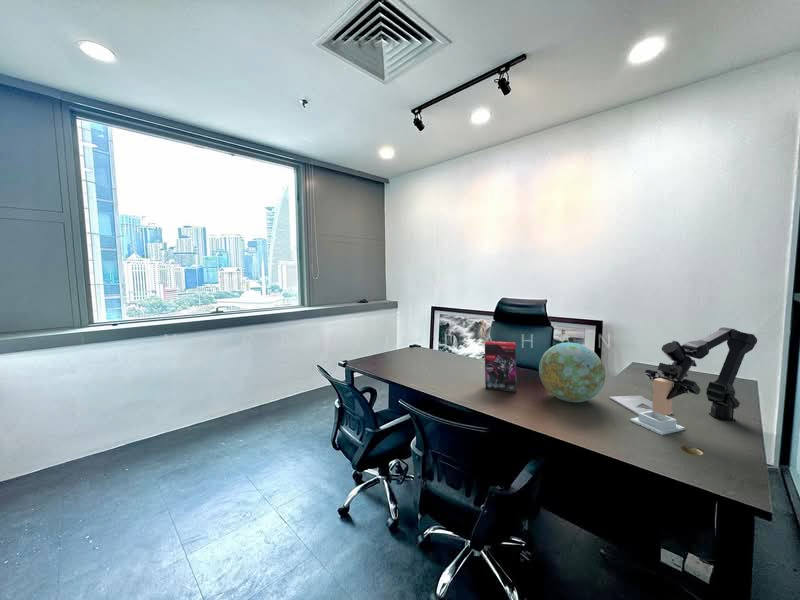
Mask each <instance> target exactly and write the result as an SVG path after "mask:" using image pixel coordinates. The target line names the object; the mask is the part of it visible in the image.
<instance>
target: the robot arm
mask: <svg viewBox="0 0 800 600" xmlns="http://www.w3.org/2000/svg"><path fill="white" fill-rule="evenodd" d="M725 342H726V344H727V347H728V352H727V355H726V356H725V360H724V362H723V364H722V367H721V370H720V372H719V375H718V377H717V379H716V380H715V381H709V382H708V385H707V388H706V389H705V393H706V397H707V400H708V402H712V403H711V405H710V412H708V415H710V416H712V417H713V418H715V419H717V420H719V421H731V422H732V421H733V422H736V421H737V419H736V418H735V417H734V415H735V414H734V411H735V409H738V408H739V407H740V405H741V403H740V401H739V400H738V399H737V398H736V397H735V396H736V395H735V394H736V390H735V387H734V383H735V380H736V378H737V375H738V374H739V371H740V367H741V366H742V362H743V361H744V357H745V356H746V354H747V353H749V352H751V351H752V350H753V349H754V348H755V346H756V344H758V343H757V342H758V338H757V337H756V336H755V334H753V333H747V332H743V331H739V330H737V329H735V328H730V327H720V328H719V329H718V330H716V331H714V332H712V333H710V334H708V335H707V336H705V337H703V338H701V339H698V340H691V341H688V342H685V343H683V344H682V345H681V343H680V342H679V341H678V340H672V342H667V343H665V344H663V345H662V346H661V351H662V352H663V353H664V355H666V357H667V358H668V359H669V360H670V361H672V363H671V364H670V363H669V364H668V363H663V362H659V364H658V366H657V370H654V369H650V368H647V369H645V371H644V372H643V374H644V375H645V376H646V378H647V379H648V380H649V381H651V382H653V380H654V379H657V378H662V379H666V380H669V381H673V388H672V390H671V391H670V393H669V394H668V396H667V398H666V399H667V400H669V399H671V398H672V399H673V398H675V397H678V396H680V395H683V394H689V393H691V394H694V395H700V393H701V387H700V386H699V385H698V384H697V383H696V381H694V380H690V379H686V378H688V372H690V369H691V367H694V368H695V367H696V368H697V363H696V361H695V360H694V359H698V360H702V359H703V358H705V357H706V356H708V355H709V353H710V350H711V349H713V348H715V347H717V346H719V345H722V344H723V343H725ZM693 358H694V359H693ZM658 371H660V372H661V374H662V375H661V374H659V372H658Z"/></svg>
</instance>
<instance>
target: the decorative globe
mask: <svg viewBox="0 0 800 600" xmlns="http://www.w3.org/2000/svg"><path fill="white" fill-rule="evenodd" d="M538 364H539V365H538V373H539V374H538V375H539V378H540V381H541V383H542V385H543V386H544V388H545V389H546V390H547V391H548V393H550V394H551V395H553V396H554V397H556V398H557V399H559V400H562V401H565V402H568V403H581V402H586V401H590V400H591V399H593V398H595V397H596V396H597V395H598V394H599V393H600V392H601V390H602V389H603V387H604V385H605V382H606V369H605V367H604V363H603V362H602V360H601V358H600V357H599V356H598V354H597V353H596V352H595V351H593V350H592V349H591V348H590V347H588V346H585V345H583V344H581V343H576V342H570V341H569V342H561V343H557V344H555V345H553V346H551V347H550V348H548V349H547V350H546V351H545V352H544V353H543V355H542V357H541V358H540V361H539V363H538Z"/></svg>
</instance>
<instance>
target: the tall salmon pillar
mask: <svg viewBox="0 0 800 600" xmlns="http://www.w3.org/2000/svg"><path fill="white" fill-rule="evenodd" d="M652 383H653V385H652V386H653V387H652V402H653V404H652V411H654V412H656V413H659V414H661V415H664V416H670V415H671V414H672V412H673V398H671V399H669V400H667V399H666V398H667V396H668V394H669V393H670V391H671V390H672V388H673V386H674V384H673V381H669V380H666V379H662V378H657V379H654V380H653V381H652ZM672 415H673V414H672Z"/></svg>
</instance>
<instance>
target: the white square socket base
mask: <svg viewBox="0 0 800 600" xmlns="http://www.w3.org/2000/svg"><path fill="white" fill-rule="evenodd" d="M629 420H630V421H629V422H632V423H634V424H637V425H639V426H640V425H641V427H643V428H645V429H648V430H649V429H650V430H649V431H652V432H654V433H656V434H658V435H660V436H664V435H668V434H672V433H676V432H681V431H684V430H686V429H685V426H682V425H680V424H677V419H676V418H674V417H671V416H670V415H667V416H664V415H661V414H659V413H656V412H654V411H647V412H642V413H639V414H638V415H637V417H634V418H633V417H632V418H630V419H629Z"/></svg>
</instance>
